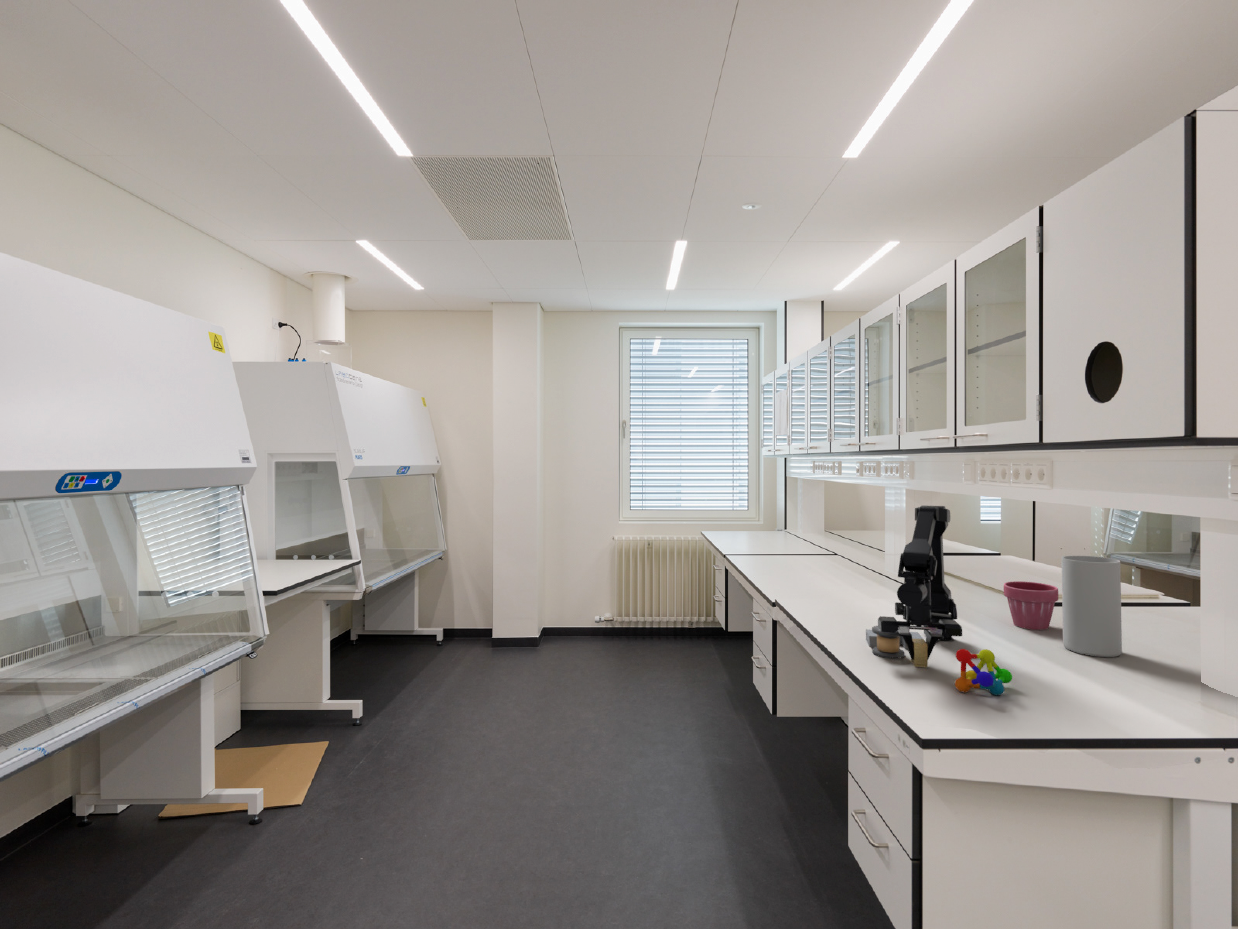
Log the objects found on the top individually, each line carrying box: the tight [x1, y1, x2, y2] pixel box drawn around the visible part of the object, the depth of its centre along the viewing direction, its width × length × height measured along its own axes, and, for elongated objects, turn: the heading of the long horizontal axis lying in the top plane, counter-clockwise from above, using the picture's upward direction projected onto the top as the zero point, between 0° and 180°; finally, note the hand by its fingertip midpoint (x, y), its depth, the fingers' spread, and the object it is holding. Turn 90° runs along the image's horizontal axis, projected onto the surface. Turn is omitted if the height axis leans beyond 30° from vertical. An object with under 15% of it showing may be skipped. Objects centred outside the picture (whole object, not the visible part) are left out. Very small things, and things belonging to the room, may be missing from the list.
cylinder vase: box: [1061, 555, 1123, 658], centre depth 160 cm, size 12×12×25 cm
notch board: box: [865, 628, 924, 650], centre depth 168 cm, size 14×7×3 cm, turn 75°
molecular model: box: [954, 648, 1013, 696], centre depth 134 cm, size 11×10×15 cm
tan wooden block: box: [910, 638, 929, 668], centre depth 151 cm, size 3×4×6 cm
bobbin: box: [871, 625, 906, 660], centre depth 160 cm, size 8×8×7 cm
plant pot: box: [1003, 580, 1059, 631], centre depth 185 cm, size 14×14×13 cm
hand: (919, 659), depth 151 cm, fingers closed on tan wooden block, 3 cm apart
